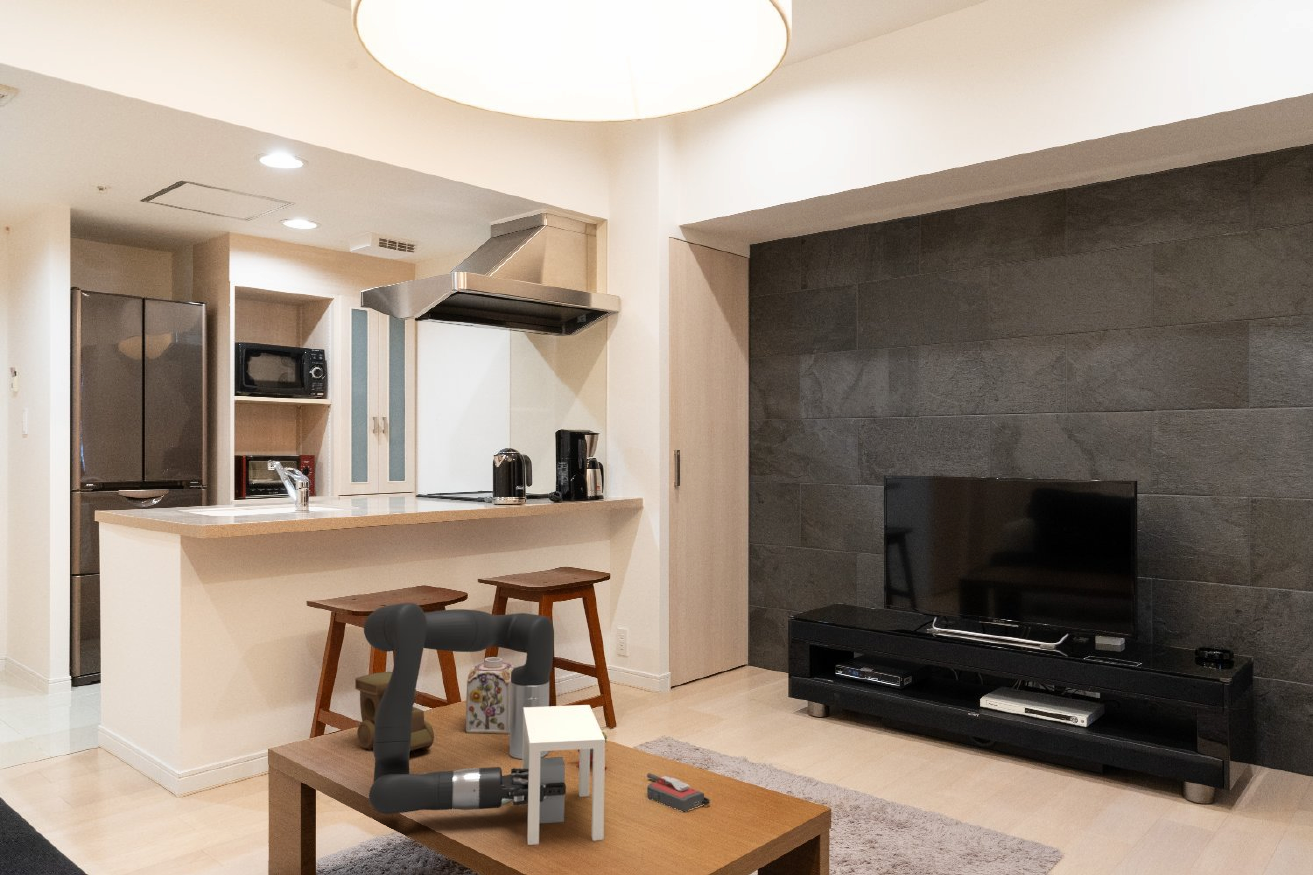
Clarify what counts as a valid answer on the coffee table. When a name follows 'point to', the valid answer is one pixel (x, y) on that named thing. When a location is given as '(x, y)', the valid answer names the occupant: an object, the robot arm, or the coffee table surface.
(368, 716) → the wooden toy train
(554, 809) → the block
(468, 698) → the decorative jar
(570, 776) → the coffee table surface
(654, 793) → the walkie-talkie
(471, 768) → the robot arm
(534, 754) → the white step stool
